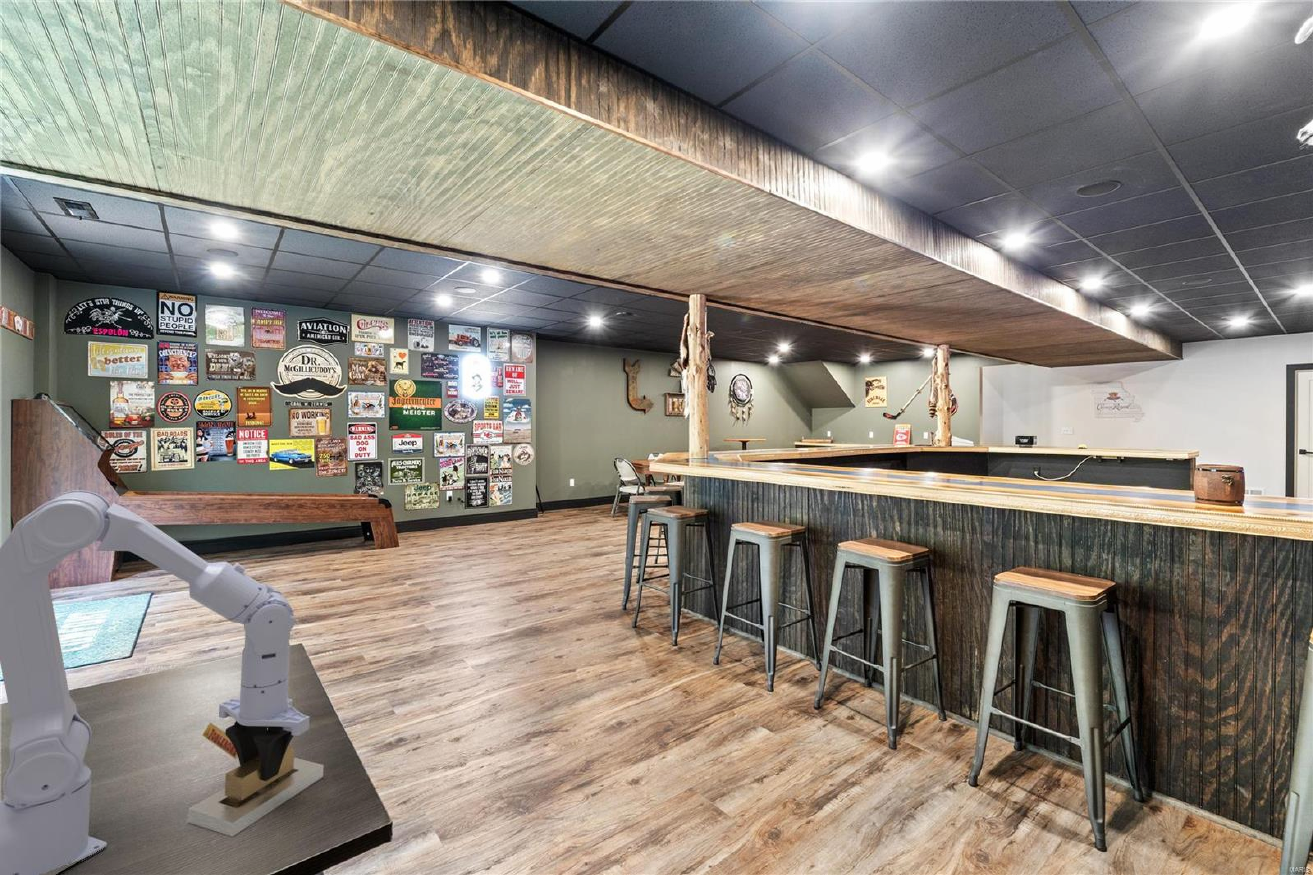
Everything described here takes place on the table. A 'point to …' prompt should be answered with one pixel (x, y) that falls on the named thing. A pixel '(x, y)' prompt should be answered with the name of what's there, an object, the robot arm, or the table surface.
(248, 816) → the white slotted holder
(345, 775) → the table surface
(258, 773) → the stepped wooden block
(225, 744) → the chocolate bar
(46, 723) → the robot arm
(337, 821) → the table surface
